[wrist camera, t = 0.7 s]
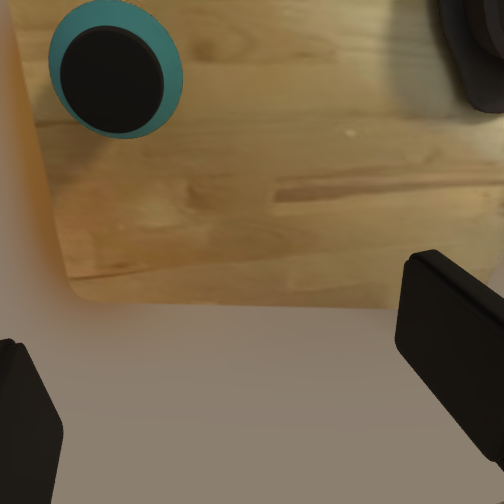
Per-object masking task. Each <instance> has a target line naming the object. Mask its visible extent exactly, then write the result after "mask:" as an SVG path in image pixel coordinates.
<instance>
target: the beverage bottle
mask: <svg viewBox="0 0 504 504" xmlns="http://www.w3.org/2000/svg"><path fill="white" fill-rule="evenodd" d="M49 71H50V77H51V80H52V84H53V87H54V89H55V91H56V94H57V96H58V97H59V99H60V101H61V103H62V104H63V105H64V107H65V108H66V110H67V111H68V112H69V113H70V114H71V115H72V116H73V117H74V118H75V119H76V120H77V121H78V122H79V123H81V124H82V125H83V126H85V127H86V128H88V129H90V130H92V131H93V132H96V133H98V134H100V135H103V136H107V137H111V138H116V139H133V138H138V137H142V136H145V135H148V134H150V133H152V132H154V131H155V130H157V129H158V128H160V127H161V126H162V125H163V124H164V123H165V122H166V121H167V120H168V119H169V118H170V117H171V115H172V114H173V112H174V111H175V109H176V107H177V105H178V102H179V99H180V96H181V92H182V84H183V71H182V64H181V60H180V56H179V53H178V51H177V48H176V46H175V44H174V42H173V40H172V38H171V37H170V35H169V34H168V32H167V31H166V30H165V28H164V27H163V26H162V25H161V24H160V23H159V22H158V21H157V20H156V19H155V18H154V17H153V16H151V15H150V14H149V13H147V12H146V11H144V10H142V9H141V8H139V7H137V6H135V5H132V4H130V3H126V2H123V1H118V0H94V1H91V2H87V3H85V4H82V5H80V6H78V7H77V8H75V9H74V10H72V11H71V12H70V13H69V14H67V15H66V16H65V17H64V18H63V20H62V21H61V22H60V23H59V25H58V27H57V28H56V30H55V32H54V35H53V37H52V40H51V44H50V48H49Z"/></svg>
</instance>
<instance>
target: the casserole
mask: <svg viewBox="0 0 504 504" xmlns="http://www.w3.org/2000/svg"><path fill="white" fill-rule="evenodd" d="M439 9H440V17H441V22H442V27H443V31H444V35H445V37H446V40H447V42H448V44H449V46H450V49H451V51H452V53H453V55H454V57H455V60H456V62H457V64H458V66H459V69H460V74H461V78H462V82H463V86H464V91H465V95H466V99H467V101H468V102H469V103H470V105H471V106H472V107H473V108H474V109H476V110H479V111H481V112H484V113H496V114H500V113H504V0H439Z"/></svg>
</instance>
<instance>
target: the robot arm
mask: <svg viewBox="0 0 504 504" xmlns="http://www.w3.org/2000/svg"><path fill="white" fill-rule="evenodd" d="M395 344H396V347H397V349H398V351H399V352H400V354H401V355H402V356H403V357H404V358H405V360H406V361H407V362H408V363H409V364H410V366H411V367H412V368H413V369H414V371H415V372H416V373H417V374H418V376H420V378H421V379H422V380H423V382H424V383H425V384H426V385H427V386H428V388H429V389H430V390H431V391H432V393H433V394H434V395H435V396H436V397H437V399H438V400H439V401H440V402H441V404H442V405H443V406H444V407H445V408H446V410H447V411H448V412H449V413H450V415H451V416H452V417H453V418H454V419H455V421H456V422H457V423H458V424H459V426H461V428H462V429H463V430H464V432H465V433H466V434H467V435H468V437H469V438H470V439H471V440H472V441H473V443H474V444H475V445H476V446H477V447H478V449H479V450H480V451H481V452H482V454H483V455H484V456H485V457H486V458H487V459H488V460H490V461H493V462H496V463H497V464H498V466H499V467H500V468H501V469H502V470H503V471H504V298H502V297H501V296H500V295H498V294H497V293H495V292H494V291H493V290H491V289H490V288H488V287H487V286H486V285H484V284H483V283H482V282H480V281H479V280H477V279H476V278H475V277H473V276H472V275H471V274H469V273H468V272H466V271H465V270H464V269H462V268H461V267H460V266H458V265H457V264H455V263H454V262H453V261H451V260H450V259H448V258H447V257H446V256H444V255H443V254H442V253H440V252H439V251H437V250H427V251H422V252H418V253H413V254H412V255H411V256H410V257H409V260H407V261H406V262H405V264H404V270H403V278H402V286H401V293H400V301H399V309H398V316H397V325H396V332H395ZM62 441H63V425H62V421H61V419H60V417H59V415H58V413H57V411H56V409H55V407H54V405H53V403H52V401H51V398H50V396H49V394H48V392H47V391H46V388H45V386H44V384H43V382H42V380H41V378H40V376H39V374H38V372H37V370H36V368H35V366H34V364H33V361H32V359H31V357H30V355H29V353H28V351H27V349H26V347H25V346H24V344H23V343H15V341H14V340H12V339H9V338H8V339H3V340H0V504H51V499H52V493H53V489H54V483H55V477H56V473H57V467H58V462H59V456H60V451H61V446H62ZM498 504H504V502H501V503H498Z"/></svg>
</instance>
